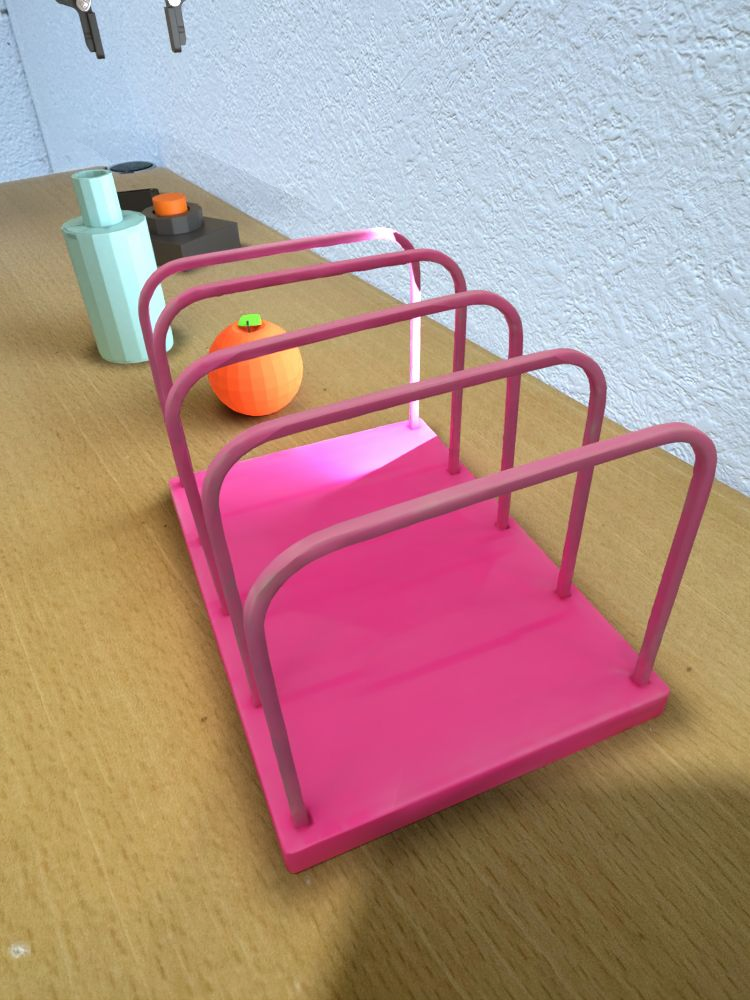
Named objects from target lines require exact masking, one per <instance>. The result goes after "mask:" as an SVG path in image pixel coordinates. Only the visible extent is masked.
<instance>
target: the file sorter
mask: <svg viewBox="0 0 750 1000" xmlns="http://www.w3.org/2000/svg"><path fill="white" fill-rule="evenodd" d="M371 240H386V241H390V242H393V243H395V244H397V245H398V246H400V247H401V249H402V250H398V251H392V252H387V253H385V252H384V253H379V254H374V255H367V256H362V257H355V258H348V259H343V260H342V259H341V260H336V261H328V262H323V263H317V264H311V265H306V266H299V267H294V268H287V269H281V270H276V271H270V272H269V271H268V272H263V273H258V274H252V275H247V276H241V277H236V278H230V279H229V278H228V279H224V280H220V281H214V282H209V283H204V284H200V285H199V284H198V285H195V286H193V287H190V288H187V289H185V290H184V291H182V292H180V293H179V294H177V295H176V296H175V297H173V298H172V299H170V301H168V303H167V304H166V306H165V308H164V309H163V310H162V312H161V314H160V315H159V317H158V319H157V322H156V324H155V328H154V332H153V330H152V326H151V320H150V314H149V304H150V300H151V298H152V296H153V294H154V292H155V290H156V288H157V286H158V285H159V284H160V283H161V284H162V282H164V281H165V280H166V279H168V278H169V277H170V276H172V275H175V274H178V273H181V272H183V271H185V270H189V269H192V270H195V269H198V268H205V267H210V266H218V265H223V264H229V263H236V262H240V261H247V260H248V261H249V260H252V259H258V258H265V257H271V256H275V255H281V254H286V253H287V254H289V253H294V252H296V253H297V252H300V251H307V250H311V249H312V250H313V249H317V248H328V247H334V246H339V245H346V244H347V245H348V244H353V243H361V242H366V241H371ZM421 262H429V263H435V264H438V265H440V266H442V267H443V268H444V269H445V270H446V271H447V272H448V273H449V274H450V276H451V279H452V281H453V284H454V285H453V287H454V293H451V294H445V295H441V296H438V297H432V298H427V299H423V300H421V299H422V296H421V295H422V287H421V286H422V285H421V283H422V281H421V279H422V278H421V275H422V274H421ZM407 264H408V265H409V292H410V293H409V299H410V303H406V304H401V305H397V306H393V307H392V306H391V307H389V308H384V309H379V310H375V311H371V312H366V313H363V314H362V313H361V314H357V315H353V316H349V317H344V318H341V319H337V320H333V321H329V322H325V323H324V322H323V323H320V324H316V325H312V326H308V327H304V328H299V329H295V330H291V331H286V333H283V334H279V335H275V336H271V337H267V338H263V339H259V340H255V341H251V342H247V343H243V344H240V345H236V346H232V347H228V348H225V349H221V350H218V351H215V352H212V353H209V354H208V353H207V354H205V355H203V356H201V357H199V358H197V359H196V360H195V361H193V362H192V363H190V364H189V365H187V366H186V367H185V369H184V370H183V371H181V373H180V374H179V375H178V376H177V378H176V379H175V380H174V382H173V377H172V374H171V373H172V372H171V368H170V364H169V358H168V354H167V352H166V336H167V332H168V329H169V326H171V324H172V322H173V320H174V319H175V318H176V317H177V315H178V314H179V313H180V312H181V311H182V310H184V309H185V308H187V307H189V306H191V305H193V304H194V303H197V302H200V301H203V300H207V299H212V298H218V297H222V296H226V295H234V294H236V293H237V294H238V293H244V292H249V291H254V290H260V289H267V288H270V287H276V286H282V285H288V284H294V283H298V282H299V283H300V282H305V281H312V280H316V279H325V278H331V277H336V276H337V277H338V276H343V275H345V274H350V273H357V272H358V273H359V272H366V271H373V270H375V269H376V270H377V269H381V268H387V267H389V268H390V267H395V266H405V265H407ZM194 268H195V269H194ZM470 306H488V307H492V308H494V309H496V310H497V311H499V312H500V313H501V314H502V315H503V318H504V319H505V321H506V324H507V327H508V353H507V358H506V359H503V360H498V361H493V362H491V363H486V364H482V365H478V366H474V367H471V368H466V369H465V360H466V359H465V357H466V339H467V337H466V336H467V319H468V318H467V317H468V307H470ZM452 310H454V311H455V312H454V333H453V353H452V372H449V373H444V374H441V375H437V376H434V377H430V378H425V379H422V380H420V362H421V361H420V360H421V318H422V317H426V316H430V315H434V314H439V313H445V312H447V311H452ZM517 310H518V309H516V307H515V306H514V305H513V304H512V303H511V302H510V301H508V300H507V299H506V298H504V297H503V296H502V295H500V294H498V293H496V292H493V291H490V290H484V289H472V290H468V287H467V281H466V278H465V275H464V272H463V269H461V267H460V266H459V264H458V263H457V262H456V261H455V260H454V259H452V257H450V256H448V254H445V253H443V252H442V251H439V250H438V249H437V250H436V249H433V248H424V247H423V248H422V247H421V248H415V246H414V244H413V243H411V241H410V240H409V239H408V238H406V237H405V236H404V235H403V234H401V233H400V232H398V231H396V230H394V229H392V228H387V227H370V228H369V227H368V228H362V229H361V228H360V229H353V230H348V231H347V230H346V231H340V232H334V233H327V234H320V235H314V236H306V237H300V238H295V239H293V238H292V239H287V240H281V241H274V242H268V243H261V244H256V245H250V246H244V247H241V248H237V249H231V250H225V251H219V252H213V253H207V254H201V255H196V256H190V257H185V258H180V259H176V260H173V261H170V262H168V263H166V264H164V265H162V266H158V267H157V270H156V271H154V272H153V273H152V274H151V276H150V277H149V278H148V279H147V281H146V282H145V284H144V286H143V288H142V290H141V292H140V296H139V301H138V315H139V321H140V325H141V330H142V334H143V339H144V343H145V347H146V351H147V355H148V359H149V360H148V363H149V367H150V371H151V375H152V378H153V382H154V386H155V390H156V394H157V398H158V403H159V406H160V411H161V415H162V418H163V422H164V427H165V429H166V430H165V431H166V433H167V438H168V441H169V446H170V449H171V453H172V457H173V461H174V465H175V468H176V472H177V476H174V477H172V478H170V479H169V480H168V488H169V492H170V496H171V501H172V504H173V508H174V510H175V513H176V516H177V520H178V524H179V526H180V530H181V533H182V536H183V539H184V540H183V541H184V543H185V546H186V550H187V552H188V555H189V559H190V562H191V564H192V568H193V572H194V574H195V578H196V581H197V586H198V587H199V588H198V589H199V591H200V595H201V597H202V601H203V604H204V607H205V611H206V613H207V617H208V620H209V624H210V627H211V630H212V633H213V636H214V639H215V643H216V646H217V650H218V652H219V655H220V659H221V662H222V665H223V668H224V671H225V676H226V678H227V682H228V685H229V688H230V691H231V693H232V697H233V701H234V704H235V708H236V710H237V714H238V717H239V720H240V723H241V727H242V731H243V734H244V736H245V739H246V743H247V745H248V749H249V752H250V755H251V759H252V763H253V766H254V768H255V772H256V774H257V775H256V776H257V778H258V781H259V785H260V788H261V790H262V794H263V797H264V800H265V803H266V807H267V810H268V813H269V816H270V819H271V823H272V827H273V829H274V832H275V836H276V839H277V842H278V846H279V849H280V854H281V856H282V859H283V863H284V867H285V868H286V870H287V871H288V872H289V873H292V874H296V873H300V872H302V871H305V870H307V869H310V868H311V867H314V866H316V865H319V864H321V863H323V862H326V861H328V860H330V859H332V858H334V857H338V856H339V855H341V854H344V853H346V852H349V851H351V850H353V849H355V848H358V847H360V846H363V845H364V844H367V843H370V842H372V841H374V840H376V839H379V838H380V837H383V836H385V835H387V834H391V833H392V832H395V831H397V830H399V829H402V828H404V827H406V826H409V825H411V824H413V823H415V822H418V821H421V820H423V819H425V818H427V817H429V816H431V815H434V814H436V813H438V812H440V811H443V810H445V809H447V808H450V807H452V806H454V805H457V804H459V803H462V802H464V801H466V800H468V799H471V798H473V797H476V796H477V795H480V794H483V793H485V792H488V791H489V790H492V789H494V788H496V787H499V786H502V785H503V784H506V783H508V782H510V781H511V780H515V779H517V778H519V777H522V776H524V775H526V774H529V773H531V772H533V771H536V770H538V769H540V768H543V767H545V766H547V765H550V764H552V763H555V762H557V761H559V760H562V759H564V758H566V757H569V756H570V755H573V754H575V753H577V752H578V753H579V752H580V751H582V750H584V749H587V748H589V747H591V746H593V745H596V744H598V743H601V742H603V741H606V740H607V739H610V738H612V737H615V736H616V735H619V734H621V733H623V732H625V731H628V730H630V729H632V728H634V727H637V726H639V725H641V724H644V723H646V722H648V721H651V720H653V719H657V717H660V716H661V715H663V713H664V712H665V708H666V705H667V702H668V700H669V696H670V693H671V689H670V687H669V685H668V684H667V683H666V682H665V681H664V680H663V678H661V677H660V676H659V675H658V673H657V672H656V671H655V670H654V669H653V668H654V665H655V663H656V659H657V655H658V652H659V650H660V647H661V643H662V640H663V637H664V634H665V631H666V628H667V625H668V622H669V619H670V616H671V613H672V610H673V608H674V605H675V602H676V599H677V596H678V592H679V590H680V586H681V583H682V580H683V577H684V574H685V570H686V568H687V565H688V561H689V559H690V555H691V553H692V549H693V547H694V544H695V540H696V538H697V534H698V531H699V528H700V525H701V522H702V519H703V517H704V513H705V510H706V507H707V504H708V502H709V497H710V495H711V492H712V488H713V484H714V480H715V477H716V470H717V465H718V451H717V448H716V445H715V443H714V441H713V440H712V439H711V437H710V436H708V435H707V434H706V433H705V432H703V431H702V430H701V429H700V428H697V427H696V426H693V425H691V424H689V423H686V422H682V421H670V422H665V423H660V424H653V425H650V426H647V427H644V428H641V429H637V430H634V431H631V432H626V433H623V434H620V435H616V436H613V437H610V438H606V439H602V440H600V439H601V433H602V427H603V422H604V417H605V412H606V406H607V391H608V385H607V380H606V376H605V374H604V371H603V369H602V368H601V366H600V365H599V363H598V362H596V361H595V360H594V359H593V358H592V357H591V356H589V355H588V354H586V353H584V352H582V351H580V350H577V349H574V348H568V347H557V348H551V349H547V350H541V351H536V352H532V353H531V352H530V353H526V354H524V329H523V321H522V318H521V316H520V314H519V312H518V311H517ZM405 321H409V340H410V341H409V360H410V361H409V383H406V384H401V385H398V386H394V387H390V388H387V389H382V390H378V391H374V392H371V393H367V394H362V395H359V396H355V397H350V398H347V399H344V400H340V401H336V402H332V403H328V404H325V405H320V406H316V407H314V408H309V409H305V410H301V411H298V412H294V413H289V414H287V415H284V416H283V415H282V416H279V417H277V418H276V417H275V418H273V419H270V420H265V421H262V422H260V423H257V424H255V425H253V426H250V427H248V428H246V429H245V430H243V431H241V432H240V433H238V434H237V435H235V436H234V437H232V438H231V439H230V440H229V441H228V442H227V443H226V444H225V445H224V446H223V447H221V448H220V450H219V451H218V452H217V453H216V454H215V455H214V457H213V458H212V460H211V462H210V463H209V465H208V466H207V468H206V469H202V470H199V471H194V467H193V463H192V458H191V457H192V456H191V454H190V453H191V452H190V450H189V446H188V442H187V437H186V434H185V429H184V425H183V421H182V417H181V412H182V411H181V408H182V406H183V403H184V401H185V398H186V397H187V395H188V393H189V392H190V390H191V389H192V388H193V387H194V386H195V385H196V384H197V382H198V381H200V380H201V379H202V378H203V377H205V376H206V375H207V374H208V373H209V372H211V371H214V370H216V369H219V368H222V367H225V366H228V365H232V364H235V363H238V362H242V361H246V360H250V359H254V358H258V357H262V356H265V355H269V354H273V353H277V352H280V351H284V350H288V349H292V348H296V347H298V348H300V347H304V346H307V345H310V344H315V343H319V342H320V343H321V342H323V341H328V340H331V339H335V338H339V337H342V336H347V335H351V334H354V333H358V332H363V331H367V330H372V329H376V328H382V327H385V326H389V325H393V324H396V323H400V322H405ZM560 365H570V366H575V367H578V368H580V369H582V371H583V372H584V374H585V376H586V377H587V379H588V385H589V396H588V406H587V413H586V420H585V427H584V432H583V437H582V444H581V446H579V447H575V448H572V449H569V450H566V451H562V452H559V453H556V454H553V455H550V456H546V457H543V458H540V459H536V460H534V461H529V462H526V463H523V464H520V465H517V466H515V454H516V443H517V442H516V441H517V431H518V430H517V429H518V417H519V408H520V407H519V406H520V395H521V394H520V393H521V383H522V382H521V381H522V374H526V373H529V372H534V371H538V370H542V369H547V368H550V367H551V368H552V367H554V366H560ZM503 379H506V386H505V387H506V388H505V390H506V391H505V402H504V403H505V404H504V423H503V435H502V447H501V448H502V449H501V459H500V471H497V472H494V473H489V474H487V475H484V476H481V477H478V478H477V477H476V476H475V475H474V474H473V473H472V472H471V471H470V469H468V468H467V466H466V465H465V464H464V463H463V462H462V461H461V460H460V451H461V449H460V448H461V432H462V431H461V430H462V413H463V412H462V411H463V399H464V398H463V395H464V389H467V388H471V387H476V386H480V385H484V384H486V383H491V382H494V381H497V380H503ZM449 393H451V399H450V423H449V442H448V443H449V445H448V446H449V447H448V446H447V445H446V444H445V443H444V441H443V440H442V439H441V438H440V437H439V436H438V435H437V434H436V433H435V432H434V431H433V430H432V428H430V426H429V425H428V424H427V423H426V422H425V421H424V420H423V419H422V418H421V417H420V411H419V410H420V406H419V405H420V400H425V399H428V398H432V397H437V396H441V395H444V394H449ZM406 404H408V405H409V407H408V408H409V410H408V411H409V413H408V415H409V416H408V419H406V420H404V421H399V422H394V423H390V424H385V425H381V426H377V427H372V428H369V429H365V430H362V431H358V432H354V433H353V432H352V433H350V434H345V435H340V436H337V437H332V438H328V439H324V440H320V441H316V442H313V443H307V444H304V445H300V446H296V447H291V448H287V449H283V450H279V451H276V452H271V453H268V454H267V453H266V454H263V455H259V456H256V457H255V456H254V457H252V458H248V459H247V458H246V459H243V460H241V459H242V457H244V456H246V455H247V454H248V453H249V452H251V451H253V450H254V449H256V448H259V447H260V446H262V445H264V444H266V443H268V442H271V441H272V442H273V441H275V440H278V439H281V438H285V437H288V436H293V435H295V434H299V433H303V432H306V431H310V430H314V429H318V428H321V427H324V426H329V425H332V424H336V423H339V422H344V421H347V420H352V419H355V418H358V417H362V416H365V415H368V414H372V413H376V412H380V411H385V410H388V409H392V408H395V407H398V406H403V405H406ZM677 443H682V444H683V443H684V444H689V445H690V447H691V449H692V451H693V454H694V462H693V463H694V464H693V467H692V476H691V479H690V482H689V484H688V485H689V486H688V489H687V492H686V496H685V500H684V502H683V506H682V507H683V508H682V510H681V513H680V517H679V520H678V524H677V526H676V530H675V533H674V536H673V539H672V542H671V545H670V549H669V551H668V556H667V559H666V562H665V565H664V568H663V571H662V575H661V578H660V581H659V584H658V588H657V592H656V595H655V599H654V601H653V604H652V607H651V611H650V615H649V618H648V621H647V625H646V630H645V633H644V637H643V640H642V644H641V647H640V651H639V652H637V651H636V650H635V649H634V648H633V647H632V646H631V645H630V643H628V641H627V640H626V639H625V637H623V636H622V634H621V633H619V631H618V630H616V628H615V627H614V626H613V625H612V624H611V623H610V622H609V620H607V619H606V617H604V615H603V614H601V613H600V611H599V610H598V609H597V608H596V607H595V606H594V605H593V603H591V602H590V600H589V599H588V598H587V597H586V596H585V595H584V594H583V593H582V592H581V590H579V588H577V586H576V585H575V584H574V583H573V578H574V574H575V568H576V563H577V558H578V553H579V548H580V543H581V538H582V533H583V528H584V522H585V517H586V512H587V507H588V503H589V502H588V501H589V496H590V491H591V486H592V481H593V476H594V471H595V467H596V466H600V465H603V464H606V463H609V462H612V461H615V460H618V459H621V458H625V457H628V456H631V455H634V454H637V453H640V452H644V451H647V450H651V449H655V448H659V447H662V446H665V445H670V444H677ZM573 473H576V478H575V484H574V488H573V494H572V500H571V506H570V511H569V517H568V524H567V528H566V535H565V538H564V545H563V549H562V556H561V561H560V566H559V567H558V566H557V565H556V563H555V562H554V561H553V560H552V559H551V558H550V557H549V556H548V555H547V554H546V553H545V551H544V550H543V549H542V548H541V547H540V546H539V545H538V544H537V543H536V542H535V541H534V540H533V538H532V537H531V536H530V535H529V534H528V533H527V532H526V530H524V529H523V528H522V527H521V525H520V523H518V522H517V521H516V520H515V519H514V517H512V516H511V515H510V510H511V501H512V493H514V492H517V491H520V490H523V489H526V488H529V487H534V486H536V485H539V484H543V483H545V482H546V483H547V482H548V481H552V480H555V479H558V478H561V477H564V476H568V475H571V474H573ZM497 497H498V498H497ZM496 498H497V499H496Z"/></svg>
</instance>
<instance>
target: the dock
mask: <svg viewBox="0 0 750 1000" xmlns="http://www.w3.org/2000/svg"><path fill="white" fill-rule="evenodd" d="M186 203H187V208H188V211H187V212H184V213H181V214H176V215H168V216H160V215H155V210H154V206H151V207H148V208H145V209H144V210H143V211H142V212H141V214H143V215H145V217H146V222H147V226H148V230H149V235H150V239H151V243H152V248H153V252H154V256H155V261H156V265H157V267H160V266H162V265H164V264H166V263H168V262H170V261H173V260H176V259H180V258H185V257H190V256H196V255H201V254H207V253H213V252H219V251H225V250H231V249H237V248H242V246H241V240H240V233H239V226H238V221H233V220H226V219H221V218H216V217H210V216H205V215H204V214H203V213H204V212H203V207H202V206H201V205H200V204H198V203H195V202H191V201H186ZM195 269H196V268H194V269H189V270H185V271H182V272H183V273H188V272H190V271H192V270H195Z"/></svg>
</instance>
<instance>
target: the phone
mask: <svg viewBox="0 0 750 1000" xmlns="http://www.w3.org/2000/svg"><path fill="white" fill-rule="evenodd" d="M116 192H117V196H118V200H119V204H120V208H121V210H130V211H135V212H140V213H141V212H142V211H143V210H144V209H145V208H148V207H151V206H153V201H152V198H153V197H155V196H157V195H160V194H161V193H160V191H159V188H155V187H151V188H141V189H131V190H123V191H122V190H121V191H116Z"/></svg>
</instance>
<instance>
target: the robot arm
mask: <svg viewBox="0 0 750 1000" xmlns="http://www.w3.org/2000/svg"><path fill="white" fill-rule="evenodd" d="M55 1H56V3H57V4H59V5H63V6H66V7H68V8H72V9H74V10H75V11H76V13H77V15H78V17H79V21H80V26H81V30H82V34H83V38H84V42H85V46H86V48H87V49H88V50H89V52H90V53H95V56H96V57H95V58H96V59H97V60H106V55H105V49H104V46H103V41H102V37H101V32H100V29H99V25H98V21H97V16H96V13H95V11H93V9H92V2H93V0H55ZM186 1H187V0H164V3H165V6H163V9H164V14H165V20H166V21H165V22H166V27H167V32H168V39H169V43H170V44H169V45H170V49H171V51H172V53H173V54H179V53H183V50H182V46H186V44H187V35H186V34H187V33H186V27H185V22H184V16H183V9H182V7H183V5H184V3H185V2H186Z"/></svg>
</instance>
